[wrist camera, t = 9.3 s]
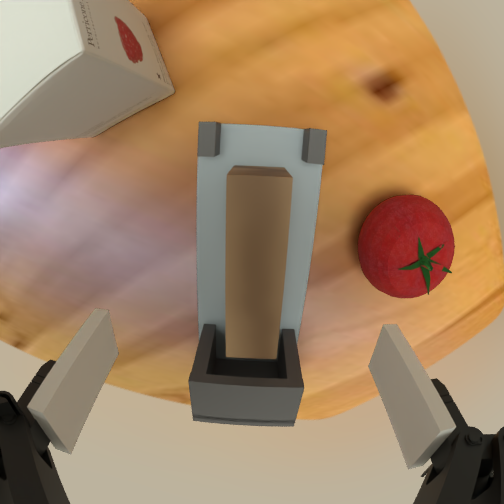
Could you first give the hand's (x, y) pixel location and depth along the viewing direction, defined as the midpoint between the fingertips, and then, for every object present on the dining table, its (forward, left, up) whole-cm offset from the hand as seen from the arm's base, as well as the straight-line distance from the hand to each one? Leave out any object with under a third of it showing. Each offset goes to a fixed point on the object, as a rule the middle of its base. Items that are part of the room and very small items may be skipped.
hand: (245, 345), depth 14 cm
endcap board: (0, -2, -14) cm, 15 cm away
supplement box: (-13, +15, -15) cm, 24 cm away
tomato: (+13, +2, -15) cm, 20 cm away
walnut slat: (0, 0, -13) cm, 13 cm away
